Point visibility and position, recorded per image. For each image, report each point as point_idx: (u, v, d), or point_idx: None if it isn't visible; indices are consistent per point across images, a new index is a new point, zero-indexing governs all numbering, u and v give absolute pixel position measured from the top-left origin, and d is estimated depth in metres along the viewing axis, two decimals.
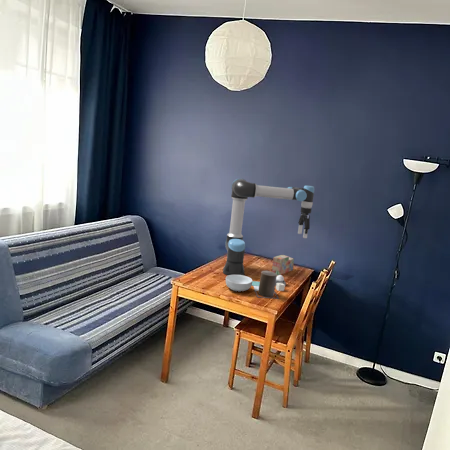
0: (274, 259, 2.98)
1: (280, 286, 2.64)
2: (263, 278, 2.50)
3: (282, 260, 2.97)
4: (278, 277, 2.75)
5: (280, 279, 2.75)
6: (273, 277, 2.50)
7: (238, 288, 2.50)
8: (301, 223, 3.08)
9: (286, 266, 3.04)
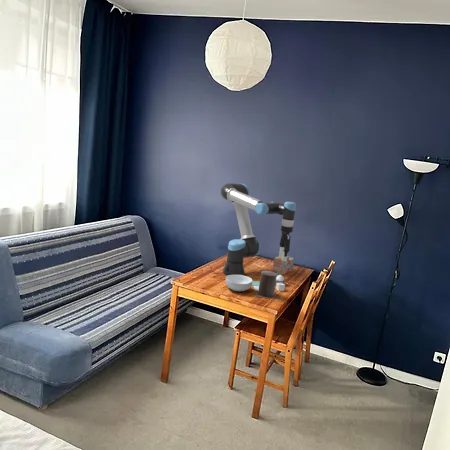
0: (275, 259, 2.98)
1: (280, 286, 2.64)
2: (263, 278, 2.50)
3: None
4: (278, 277, 2.75)
5: (280, 279, 2.75)
6: (273, 277, 2.50)
7: (238, 288, 2.50)
8: (282, 244, 2.78)
9: (287, 266, 3.04)
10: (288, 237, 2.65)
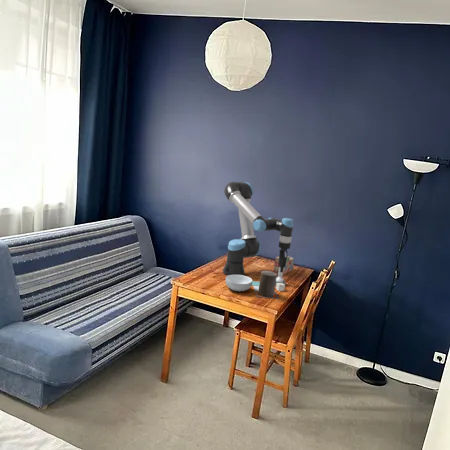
0: (276, 259, 2.97)
1: (280, 286, 2.64)
2: (263, 278, 2.50)
3: None
4: (278, 278, 2.76)
5: (280, 280, 2.75)
6: (273, 277, 2.50)
7: (238, 288, 2.50)
8: None
9: (287, 266, 3.05)
10: (285, 256, 2.68)
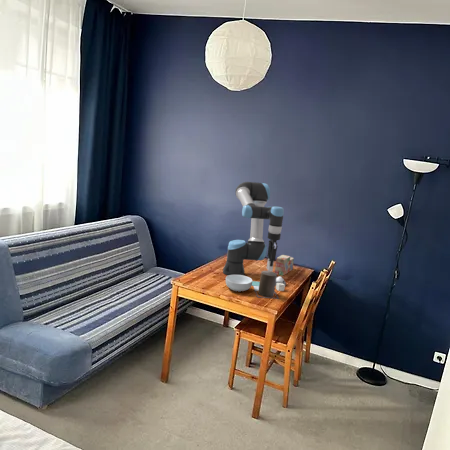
0: (277, 260, 2.97)
1: (280, 286, 2.64)
2: (263, 278, 2.50)
3: (285, 260, 2.97)
4: (278, 279, 2.76)
5: (280, 281, 2.75)
6: (273, 277, 2.50)
7: (238, 288, 2.50)
8: None
9: (288, 266, 3.05)
10: (275, 247, 2.44)
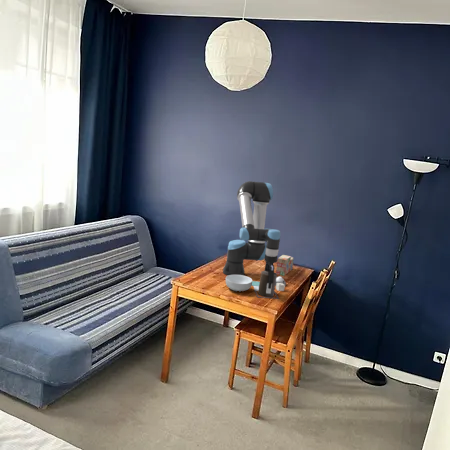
0: (278, 260, 2.97)
1: (280, 286, 2.64)
2: (263, 278, 2.50)
3: (286, 260, 2.97)
4: (278, 279, 2.76)
5: (280, 281, 2.75)
6: None
7: (238, 288, 2.50)
8: None
9: (288, 266, 3.05)
10: (272, 268, 2.46)
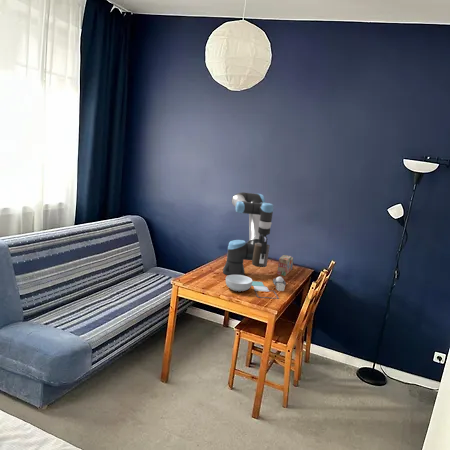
0: (280, 260, 2.97)
1: (280, 286, 2.64)
2: (256, 249, 2.64)
3: (288, 260, 2.97)
4: (278, 279, 2.76)
5: (280, 281, 2.75)
6: (266, 248, 2.63)
7: (238, 288, 2.50)
8: None
9: (289, 266, 3.06)
10: (265, 239, 2.59)
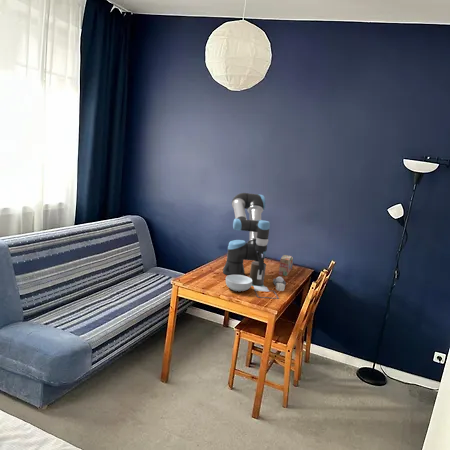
0: (281, 260, 2.97)
1: (280, 286, 2.64)
2: (253, 267, 2.68)
3: (289, 260, 2.98)
4: (278, 279, 2.76)
5: (280, 281, 2.75)
6: None
7: (238, 288, 2.50)
8: None
9: (290, 266, 3.06)
10: (262, 255, 2.62)
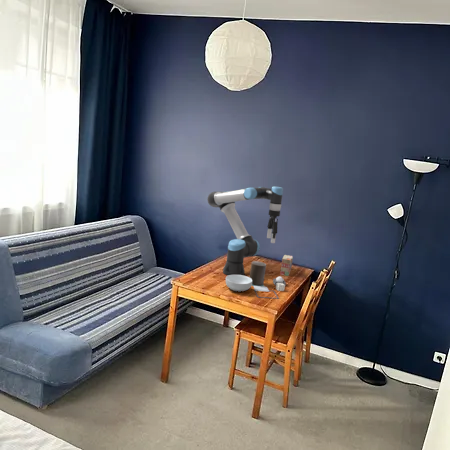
0: (283, 260, 2.97)
1: (280, 286, 2.64)
2: (253, 267, 2.68)
3: (290, 260, 2.98)
4: (278, 279, 2.76)
5: (280, 281, 2.75)
6: (262, 267, 2.67)
7: (238, 288, 2.50)
8: (270, 227, 2.87)
9: (290, 266, 3.07)
10: (275, 219, 2.73)
